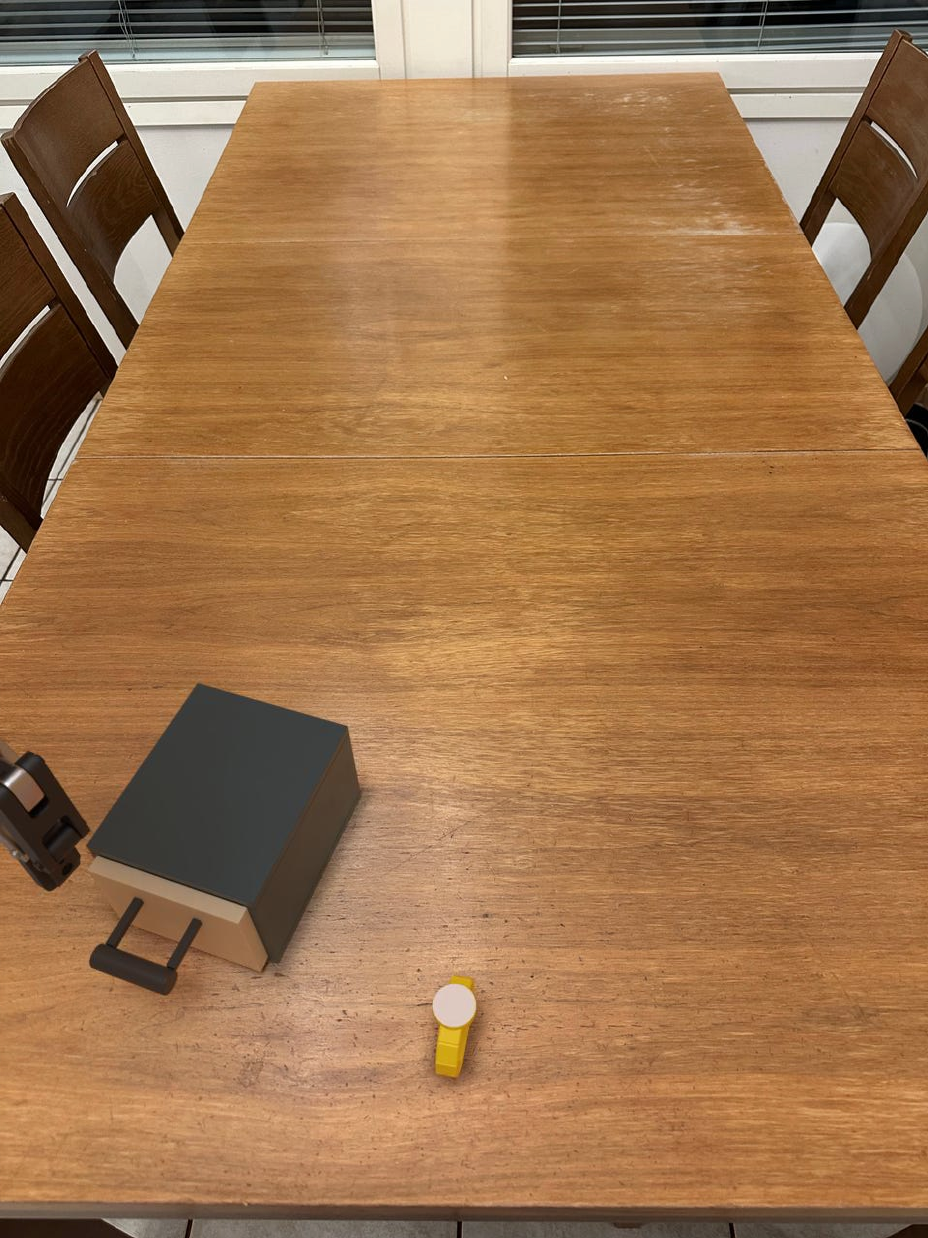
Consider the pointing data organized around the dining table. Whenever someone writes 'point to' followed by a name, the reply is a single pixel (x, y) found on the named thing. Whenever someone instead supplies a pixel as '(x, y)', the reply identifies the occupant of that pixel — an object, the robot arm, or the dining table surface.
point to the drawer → (169, 925)
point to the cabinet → (238, 806)
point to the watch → (453, 1023)
